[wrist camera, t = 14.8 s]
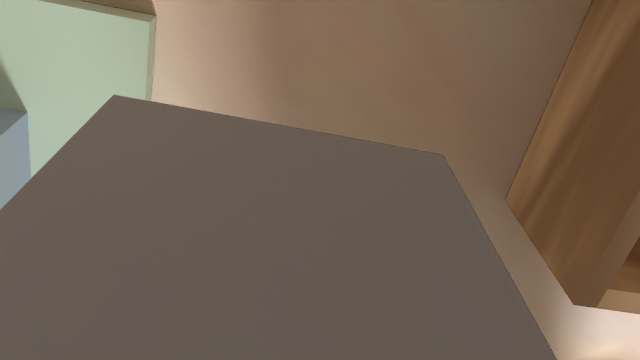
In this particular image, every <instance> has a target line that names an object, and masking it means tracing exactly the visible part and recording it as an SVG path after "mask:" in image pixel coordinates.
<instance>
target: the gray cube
mask: <svg viewBox="0 0 640 360" xmlns="http://www.w3.org/2000/svg"><path fill="white" fill-rule="evenodd" d="M0 360H557V359H556V357H555V355H554V353H553V352H552V350H551V348H550V346H549V344H548V343H547V341H546V339H545V337H544V336H543V334H542V332H541V330H540V328H539V327H538V325H537V323H536V321H535V319H534V318H533V316H532V314H531V312H530V310H529V309H528V307H527V305H526V303H525V301H524V300H523V298H522V296H521V294H520V292H519V291H518V289H517V287H516V285H515V283H514V282H513V280H512V278H511V276H510V274H509V273H508V271H507V269H506V267H505V265H504V264H503V262H502V260H501V258H500V256H499V255H498V253H497V251H496V249H495V247H494V246H493V244H492V242H491V240H490V238H489V237H488V235H487V233H486V231H485V229H484V228H483V226H482V224H481V222H480V220H479V219H478V217H477V215H476V213H475V211H474V210H473V208H472V206H471V204H470V202H469V201H468V199H467V197H466V195H465V193H464V192H463V190H462V188H461V186H460V184H459V183H458V181H457V179H456V177H455V175H454V174H453V172H452V170H451V168H450V166H449V165H448V163H447V161H446V159H445V157H444V156H443V155H441V154H435V153H430V152H424V151H419V150H413V149H408V148H402V147H397V146H392V145H386V144H381V143H375V142H370V141H364V140H359V139H354V138H348V137H343V136H337V135H332V134H326V133H321V132H315V131H310V130H305V129H299V128H294V127H288V126H283V125H277V124H272V123H266V122H261V121H256V120H250V119H245V118H239V117H234V116H228V115H223V114H218V113H212V112H207V111H201V110H196V109H190V108H185V107H179V106H174V105H169V104H163V103H158V102H152V101H147V100H141V99H136V98H130V97H125V96H120V95H113V96H112V97H111V98H110V99H109V100H108V101H107V102H106V103H105V104H104V105H103V106H102V107H101V108H100V109H99V110H98V111H97V112H96V113H95V114H94V115H93V116H92V117H91V118H90V119H89V120H88V121H87V122H86V123H85V124H84V125H83V126H82V127H81V128H80V129H79V130H78V131H77V132H76V133H75V134H74V135H73V136H72V137H71V138H70V139H69V140H68V141H67V142H66V143H65V144H64V145H63V146H62V147H61V148H60V150H59V151H58V152H57V153H56V154H55V155H54V156H53V157H52V158H51V159H50V160H49V161H48V162H47V163H46V164H45V165H44V166H43V167H42V168H41V169H40V170H39V171H38V172H37V173H36V174H35V175H34V176H33V177H32V178H31V179H30V180H29V181H28V182H27V183H26V184H25V185H24V186H23V187H22V188H21V189H20V190H19V191H18V192H17V193H16V194H15V195H14V196H13V197H12V198H11V199H10V200H9V201H8V202H7V203H6V204H5V205H4V206H3V207H2V209H1V210H0Z"/></svg>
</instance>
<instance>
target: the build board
mask: <svg viewBox="0 0 640 360" xmlns="http://www.w3.org/2000/svg"><path fill="white" fill-rule="evenodd" d="M155 30H156V16H154V15H149V14H144V13H139V12H134V11H129V10H124V9H119V8H114V7H109V6H104V5H99V4H94V3H89V2H84V1H79V0H0V108H5V109H11V110H17V111H23V112H28V128H29V147H30V166H31V178H32V177H33V176H34V175H35V174H36V173H37V172H38V171H39V170H40V169H41V168H42V167H43V166H44V165H45V164H46V163H47V162H48V161H49V160H50V159H51V158H52V157H53V156H54V155H55V154H56V153H57V152H58V151H59V150H60V148H61V147H62V146H63V145H64V144H65V143H66V142H67V141H68V140H69V139H70V138H71V137H72V136H73V135H74V134H75V133H76V132H77V131H78V130H79V129H80V128H81V127H82V126H83V125H84V124H85V123H86V122H87V121H88V120H89V119H90V118H91V117H92V116H93V115H94V114H95V113H96V112H97V111H98V110H99V109H100V108H101V107H102V106H103V105H104V104H105V103H106V102H107V101H108V100H109V99H110V98H111V97H112V96H113V95H120V96H125V97H130V98H136V99H141V100H147V101H151V93H152V77H153V61H154V46H155Z"/></svg>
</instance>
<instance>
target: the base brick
mask: <svg viewBox="0 0 640 360" xmlns="http://www.w3.org/2000/svg"><path fill="white" fill-rule="evenodd" d="M30 179H31V166H30V147H29V128H28V112H23V111H17V110H11V109H5V108H0V210H1V209H2V207H3V206H4V205H5V204H6V203H7V202H8V201H9V200H10V199H11V198H12V197H13V196H14V195H15V194H16V193H17V192H18V191H19V190H20V189H21V188H22V187H23V186H24V185H25V184H26V183H27V182H28V181H29V180H30Z"/></svg>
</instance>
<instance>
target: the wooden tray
mask: <svg viewBox="0 0 640 360" xmlns="http://www.w3.org/2000/svg"><path fill="white" fill-rule="evenodd" d="M505 201H506V203H507V204H508V206H509V207H510V209H511V210H512V212H513V213H514V215H515V216H516V218H517V220H518V221H519V223H520V224H521V226H522V227H523V229H524V230H525V232H526V233H527V235H528V236H529V238H530V239H531V241H532V242H533V244H534V245H535V247H536V248H537V250H538V251H539V253H540V254H541V256H542V258H543V259H544V261H545V262H546V264H547V265H548V267H549V268H550V270H551V271H552V273H553V274H554V276H555V277H556V279H557V280H558V282H559V283H560V285H561V286H562V288H563V289H564V291H565V292H566V294H567V296H568V297H569V299H570V300H571V302H572V303H573V305H579V306H586V307H593V308H600V309H607V310H614V311H621V312H628V313H635V314H640V0H593V2H592V4H591V6H590V8H589V11H588V13H587V15H586V18H585V20H584V22H583V24H582V27H581V29H580V31H579V33H578V36H577V38H576V40H575V43H574V45H573V47H572V49H571V52H570V54H569V56H568V58H567V61H566V63H565V65H564V68H563V70H562V72H561V74H560V77H559V79H558V81H557V83H556V86H555V88H554V90H553V93H552V95H551V97H550V99H549V102H548V104H547V106H546V108H545V111H544V113H543V115H542V118H541V120H540V122H539V124H538V127H537V129H536V131H535V133H534V136H533V138H532V140H531V142H530V145H529V147H528V149H527V152H526V154H525V156H524V158H523V161H522V163H521V165H520V167H519V170H518V172H517V174H516V177H515V179H514V181H513V183H512V186H511V188H510V190H509V192H508V195H507V197H506V199H505Z"/></svg>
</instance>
